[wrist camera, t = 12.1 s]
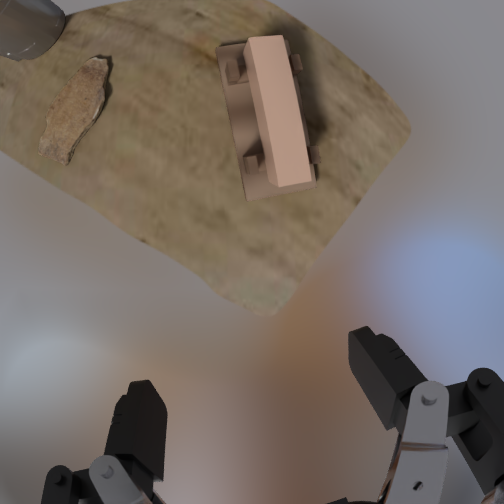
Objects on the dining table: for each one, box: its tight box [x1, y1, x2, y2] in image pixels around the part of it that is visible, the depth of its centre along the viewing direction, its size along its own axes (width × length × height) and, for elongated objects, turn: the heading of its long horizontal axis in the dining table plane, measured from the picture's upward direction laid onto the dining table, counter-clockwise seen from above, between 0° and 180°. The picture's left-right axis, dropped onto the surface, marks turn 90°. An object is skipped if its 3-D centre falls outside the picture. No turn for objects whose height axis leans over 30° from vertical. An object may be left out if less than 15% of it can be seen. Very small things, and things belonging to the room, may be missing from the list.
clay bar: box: [243, 35, 312, 187], centre depth 27 cm, size 4×16×5 cm, turn 11°
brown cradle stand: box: [216, 40, 321, 202], centre depth 30 cm, size 20×9×6 cm, turn 11°
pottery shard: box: [38, 57, 109, 166], centre depth 28 cm, size 8×3×15 cm
